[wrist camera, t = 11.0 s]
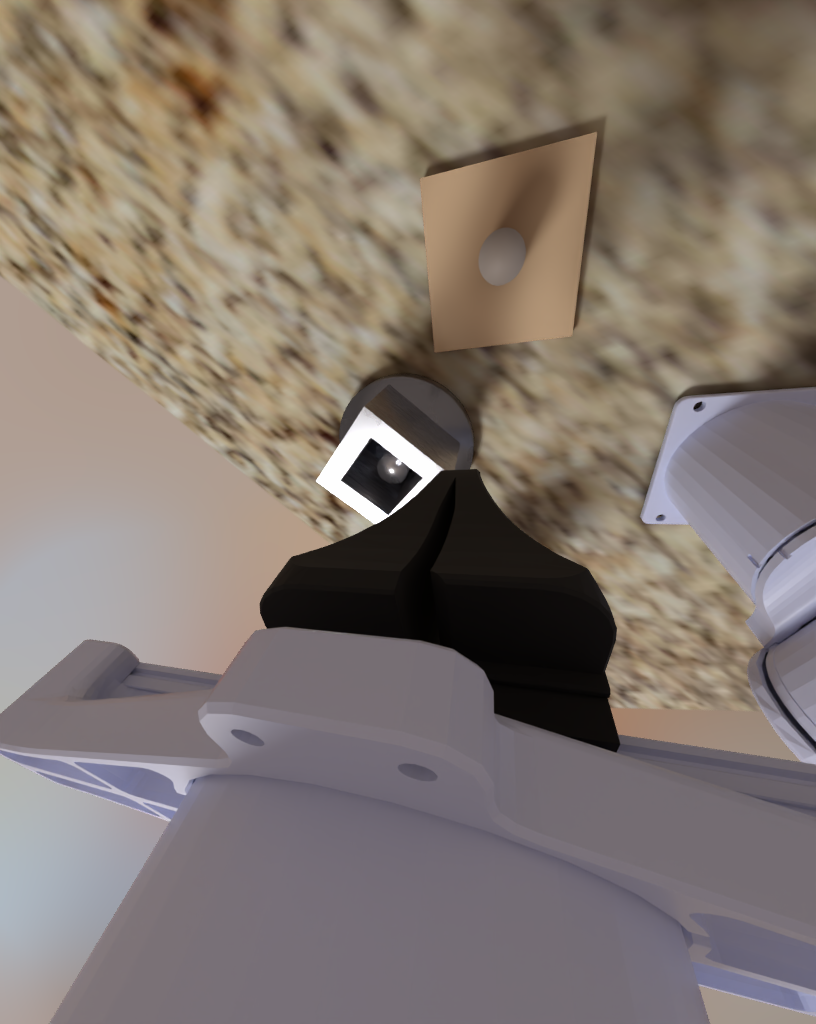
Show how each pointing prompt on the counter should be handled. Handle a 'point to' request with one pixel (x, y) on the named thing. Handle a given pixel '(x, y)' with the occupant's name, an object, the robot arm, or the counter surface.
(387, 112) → the counter surface
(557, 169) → the stand
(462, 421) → the hub
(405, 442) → the square metal tube
